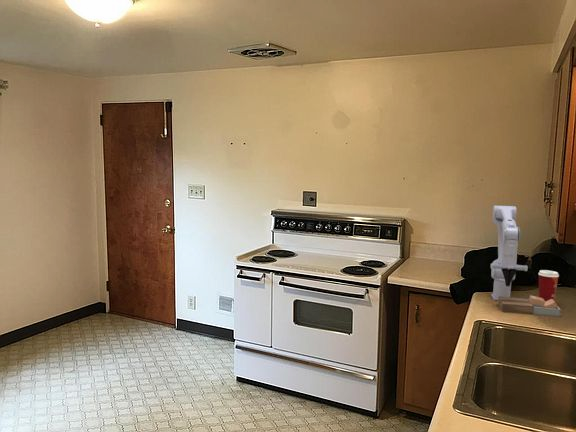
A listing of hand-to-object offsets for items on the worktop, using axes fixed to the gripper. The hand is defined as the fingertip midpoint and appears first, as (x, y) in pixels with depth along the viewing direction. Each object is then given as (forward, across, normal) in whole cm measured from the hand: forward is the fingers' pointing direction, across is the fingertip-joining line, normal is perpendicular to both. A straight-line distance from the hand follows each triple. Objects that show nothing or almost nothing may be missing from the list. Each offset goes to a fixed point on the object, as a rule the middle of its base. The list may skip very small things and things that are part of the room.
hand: (507, 285), depth 212 cm
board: (+10, +3, -1) cm, 10 cm away
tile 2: (+6, +16, -1) cm, 17 cm away
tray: (+10, +15, -1) cm, 18 cm away
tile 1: (+7, +12, -1) cm, 13 cm away
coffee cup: (+10, +19, +11) cm, 24 cm away
